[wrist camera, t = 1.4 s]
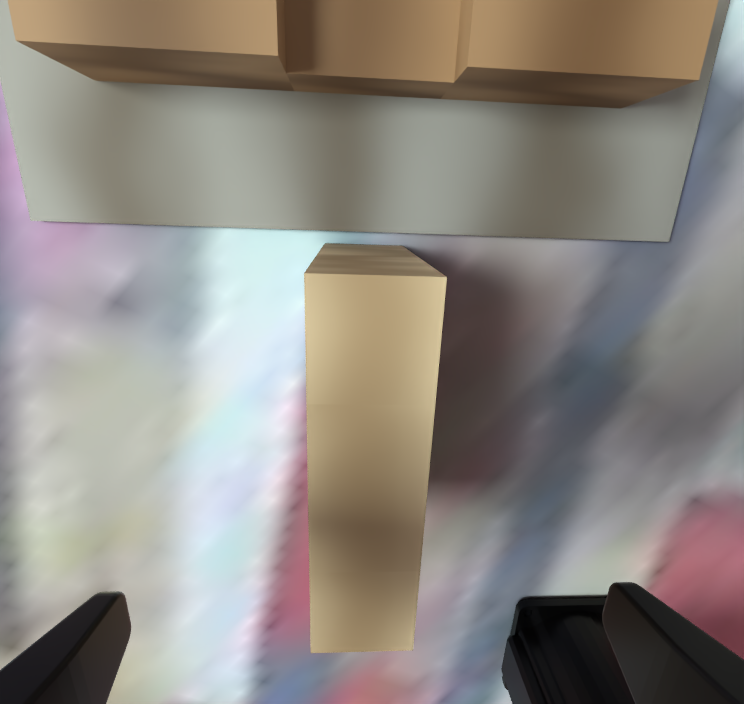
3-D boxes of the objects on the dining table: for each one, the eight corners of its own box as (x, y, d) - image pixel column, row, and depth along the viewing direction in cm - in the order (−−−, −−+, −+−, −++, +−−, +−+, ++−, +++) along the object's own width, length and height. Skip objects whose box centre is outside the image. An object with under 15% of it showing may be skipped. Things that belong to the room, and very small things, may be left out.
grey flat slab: (760, -157, 13) (921, -301, 9) (662, 241, 17) (748, 250, 13) (-58, -234, 12) (-245, -439, 8) (38, 220, 15) (-59, 224, 12)
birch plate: (401, 245, 16) (447, 276, 9) (388, 483, 20) (412, 650, 12) (324, 243, 16) (304, 273, 9) (325, 483, 20) (310, 652, 12)
